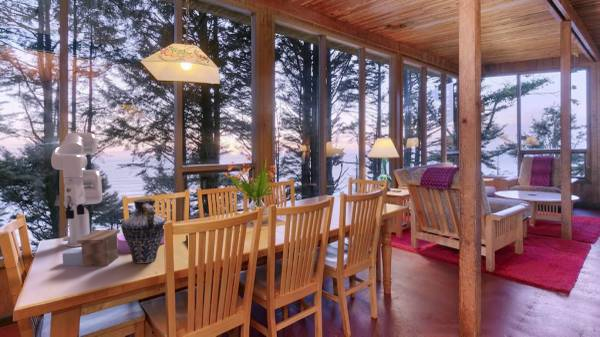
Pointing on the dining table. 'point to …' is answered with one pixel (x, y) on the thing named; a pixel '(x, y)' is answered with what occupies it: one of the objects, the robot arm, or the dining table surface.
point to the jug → (143, 231)
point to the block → (72, 257)
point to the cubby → (99, 248)
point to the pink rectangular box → (124, 246)
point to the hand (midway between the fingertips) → (75, 216)
